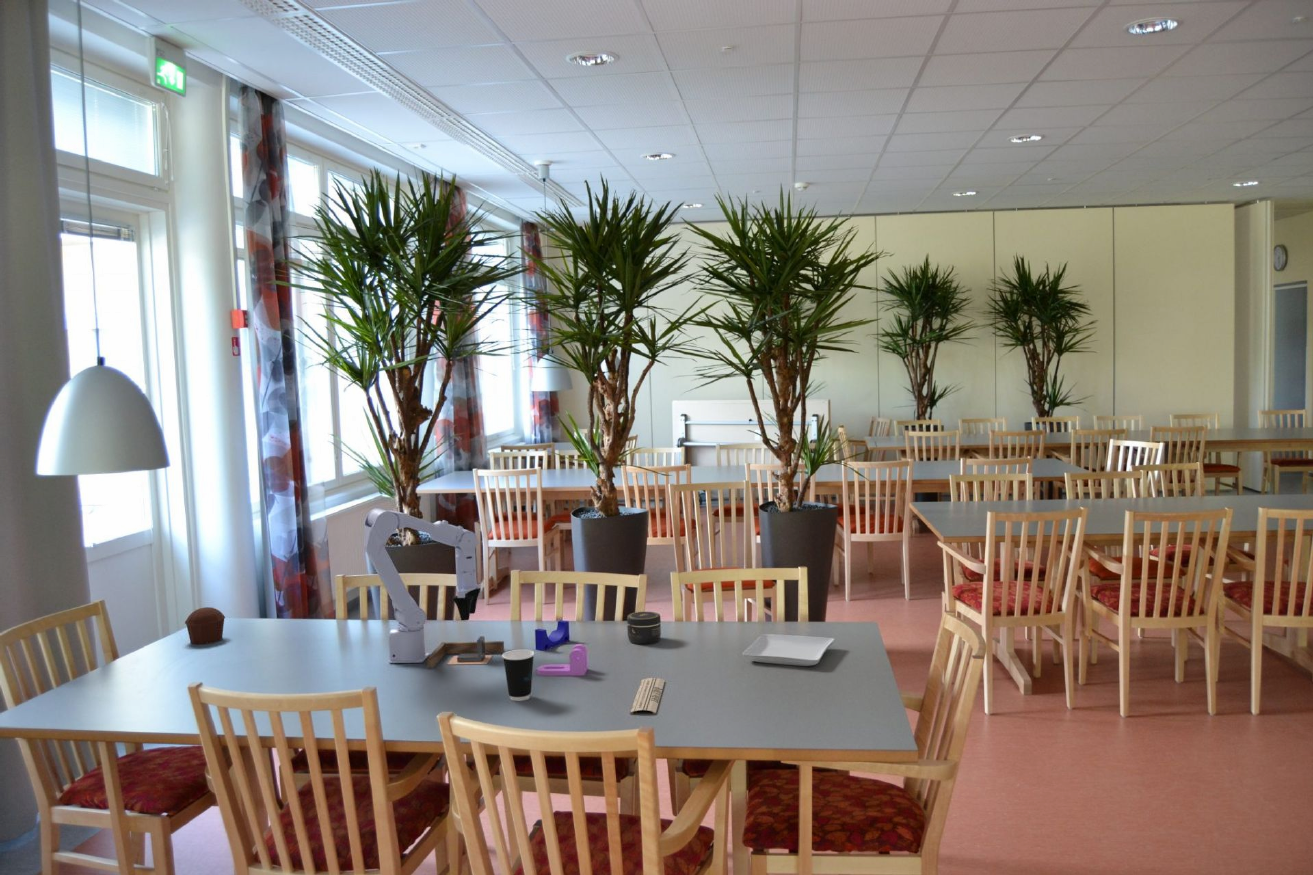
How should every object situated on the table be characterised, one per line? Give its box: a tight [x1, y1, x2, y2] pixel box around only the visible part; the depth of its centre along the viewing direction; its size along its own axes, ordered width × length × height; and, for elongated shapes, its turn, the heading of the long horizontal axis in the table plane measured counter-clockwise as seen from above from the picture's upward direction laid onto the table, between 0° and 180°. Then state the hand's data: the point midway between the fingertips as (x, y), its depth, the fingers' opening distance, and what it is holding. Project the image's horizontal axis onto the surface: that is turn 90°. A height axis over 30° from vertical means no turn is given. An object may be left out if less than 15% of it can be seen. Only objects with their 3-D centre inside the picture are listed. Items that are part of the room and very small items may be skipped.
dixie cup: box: [501, 649, 535, 702], centre depth 240 cm, size 8×8×11 cm
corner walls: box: [427, 640, 505, 669], centre depth 274 cm, size 18×15×3 cm
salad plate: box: [742, 633, 835, 667], centre depth 268 cm, size 21×21×3 cm
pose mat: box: [446, 654, 493, 666], centre depth 274 cm, size 11×8×1 cm
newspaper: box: [629, 677, 666, 715], centre depth 238 cm, size 24×7×2 cm, turn 174°
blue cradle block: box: [534, 619, 570, 652], centre depth 287 cm, size 12×4×6 cm, turn 147°
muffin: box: [184, 606, 226, 645], centre depth 303 cm, size 12×11×10 cm
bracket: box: [536, 643, 588, 677], centre depth 260 cm, size 13×6×7 cm, turn 85°
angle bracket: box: [457, 635, 486, 662], centre depth 273 cm, size 7×4×6 cm, turn 88°
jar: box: [626, 611, 662, 646], centre depth 288 cm, size 10×10×8 cm
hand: (468, 616), depth 285 cm, fingers open, 7 cm apart
